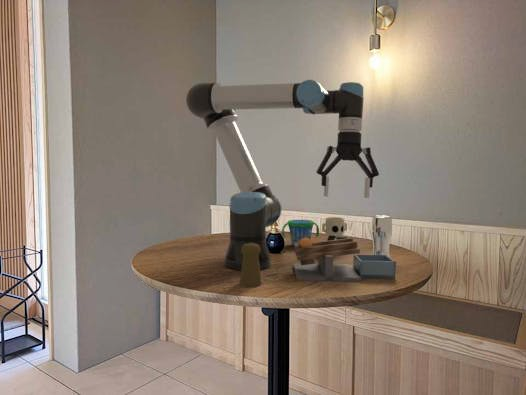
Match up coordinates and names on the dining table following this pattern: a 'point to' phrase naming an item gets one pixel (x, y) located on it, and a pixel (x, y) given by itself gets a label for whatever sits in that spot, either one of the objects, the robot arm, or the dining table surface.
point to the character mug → (334, 227)
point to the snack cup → (300, 230)
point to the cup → (374, 266)
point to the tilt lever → (326, 249)
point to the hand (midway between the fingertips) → (346, 197)
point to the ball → (305, 243)
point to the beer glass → (381, 234)
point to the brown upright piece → (250, 265)
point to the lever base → (326, 271)
